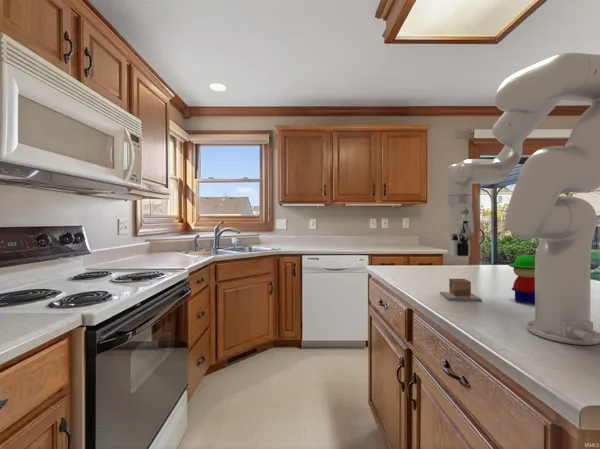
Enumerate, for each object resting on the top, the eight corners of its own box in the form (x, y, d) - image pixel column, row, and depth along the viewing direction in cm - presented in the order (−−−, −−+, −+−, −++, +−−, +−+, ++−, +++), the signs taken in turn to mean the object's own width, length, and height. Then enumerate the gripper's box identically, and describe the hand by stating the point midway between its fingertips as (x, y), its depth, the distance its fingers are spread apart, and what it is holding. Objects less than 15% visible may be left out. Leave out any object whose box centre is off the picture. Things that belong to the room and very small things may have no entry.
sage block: (470, 256, 99) (470, 241, 98) (454, 256, 99) (454, 241, 99) (464, 254, 103) (464, 240, 103) (448, 254, 104) (448, 240, 104)
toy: (504, 300, 97) (504, 254, 96) (513, 296, 102) (512, 252, 102) (539, 306, 90) (539, 257, 89) (546, 301, 95) (546, 254, 95)
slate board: (481, 301, 96) (481, 298, 96) (449, 300, 98) (449, 297, 98) (469, 294, 105) (469, 291, 105) (440, 294, 106) (439, 291, 106)
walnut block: (470, 296, 98) (470, 281, 98) (454, 296, 99) (454, 281, 99) (464, 293, 103) (464, 278, 103) (449, 292, 104) (449, 278, 104)
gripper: (483, 199, 92) (482, 258, 92) (461, 202, 109) (461, 251, 109) (457, 199, 93) (457, 257, 93) (439, 202, 110) (439, 251, 110)
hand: (459, 254), depth 101 cm, fingers closed on sage block, 5 cm apart
